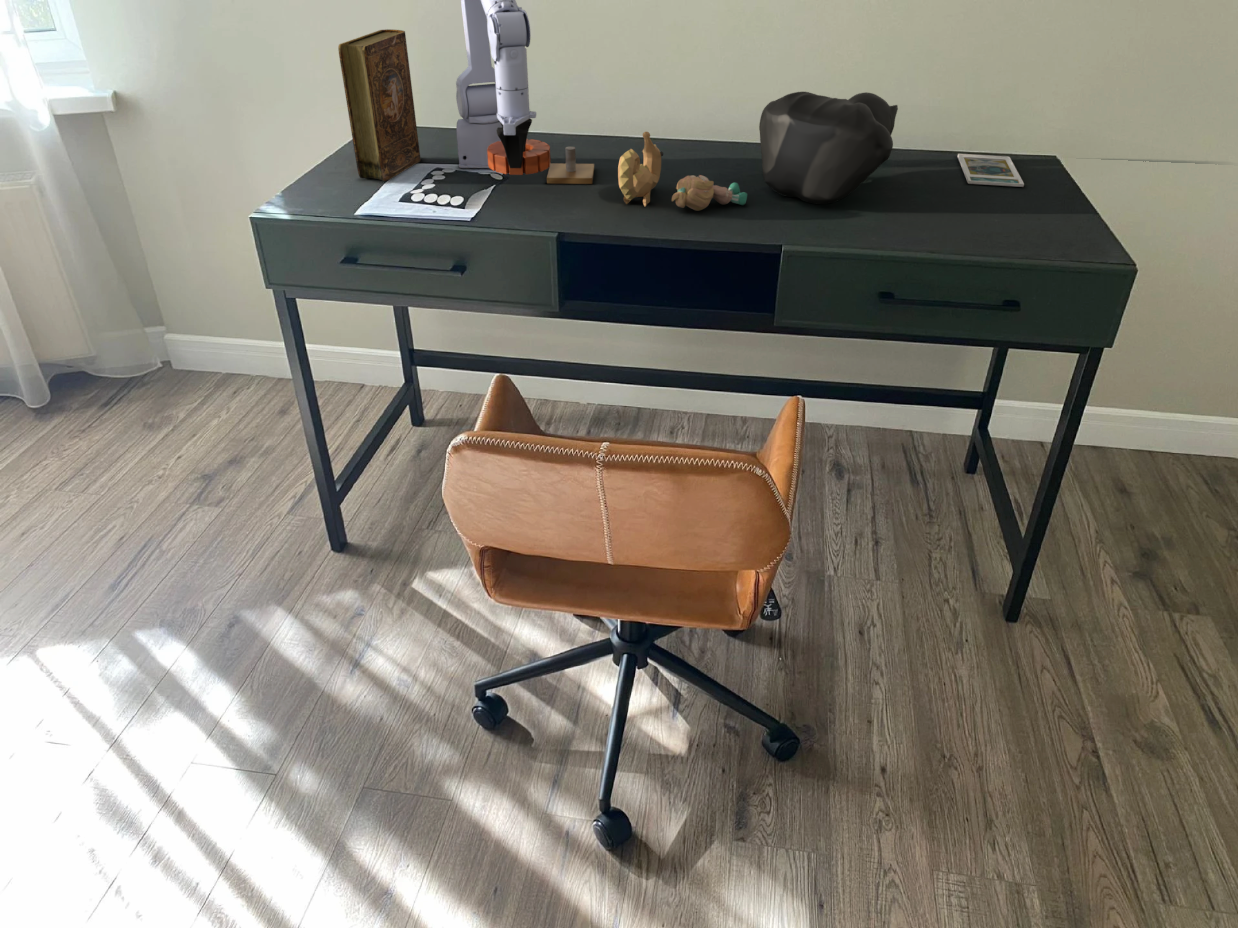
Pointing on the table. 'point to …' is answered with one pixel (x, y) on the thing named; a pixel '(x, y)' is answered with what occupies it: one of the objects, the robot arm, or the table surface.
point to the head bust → (824, 143)
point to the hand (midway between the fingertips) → (516, 164)
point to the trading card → (990, 170)
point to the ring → (532, 162)
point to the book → (380, 103)
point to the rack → (570, 171)
